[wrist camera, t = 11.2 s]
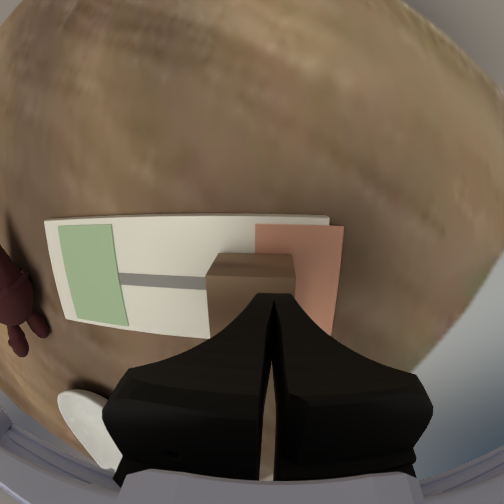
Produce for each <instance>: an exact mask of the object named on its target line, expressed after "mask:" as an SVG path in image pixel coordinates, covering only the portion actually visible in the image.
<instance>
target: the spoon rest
mask: <svg viewBox="0 0 504 504" xmlns="http://www.w3.org/2000/svg"><path fill="white" fill-rule="evenodd" d="M57 400H58V407H59V409H60V412H61V414H62V416H63V418H64V420H65V421H66V423H67V424H68V426H69V427H70V429H71V430H72V431H73V433H74V434H75V435H76V437H77V438H78V439H79V441H80V442H81V443H82V444H83V446H84V447H85V448H86V450H87V451H88V452H89V453H90V455H91V456H92V457H93V458H94V460H95V461H96V462H97V463H98V465H99V466H100V467H101V468H103V469H109V468H112V469H114V470H115V472H116V470H117V467H118V465H119V463H120V461H121V459H122V456H123V455H122V454H121V452H120V451H119V449H118V448H117V446H116V445H115V443H114V441H113V440H112V438H111V436H110V435H109V433H108V431H107V429H106V427H105V425H104V422H103V420H102V409H103V407H104V406H105V404H106V402H107V401H108V400H107V399H106V398H104V397H102V396H100V395H98V394H96V393H93V392H90V391H86V390H79V389H72V390H65V391H62V392H61V393H60V394H59V395H58V399H57Z"/></svg>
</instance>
